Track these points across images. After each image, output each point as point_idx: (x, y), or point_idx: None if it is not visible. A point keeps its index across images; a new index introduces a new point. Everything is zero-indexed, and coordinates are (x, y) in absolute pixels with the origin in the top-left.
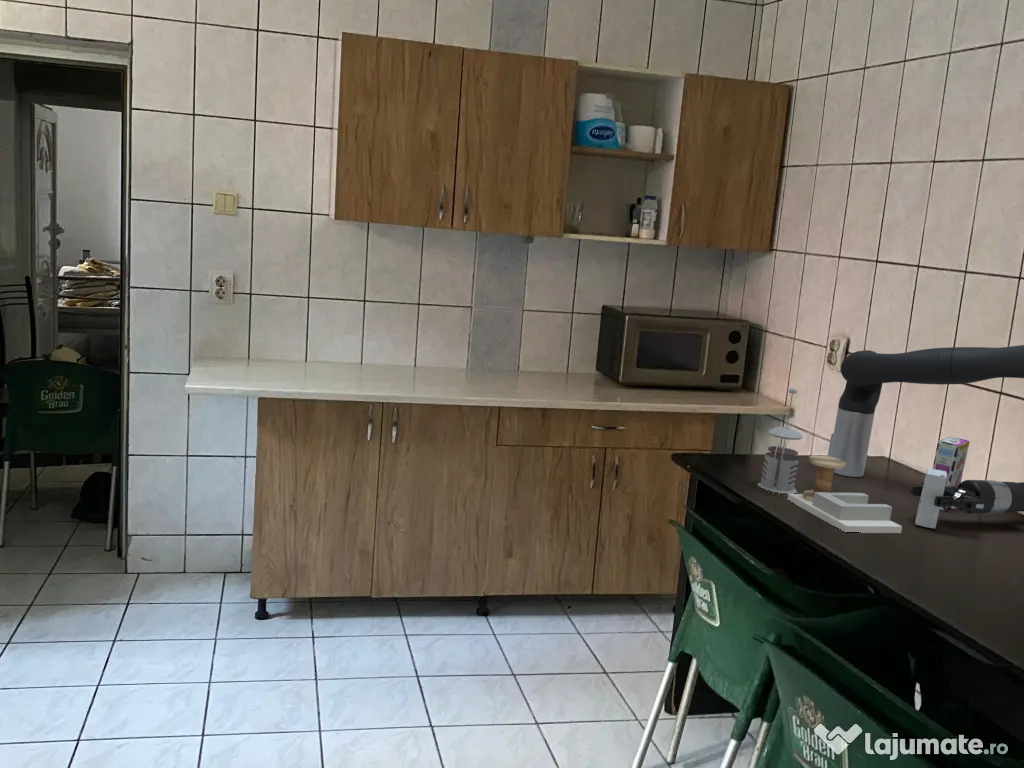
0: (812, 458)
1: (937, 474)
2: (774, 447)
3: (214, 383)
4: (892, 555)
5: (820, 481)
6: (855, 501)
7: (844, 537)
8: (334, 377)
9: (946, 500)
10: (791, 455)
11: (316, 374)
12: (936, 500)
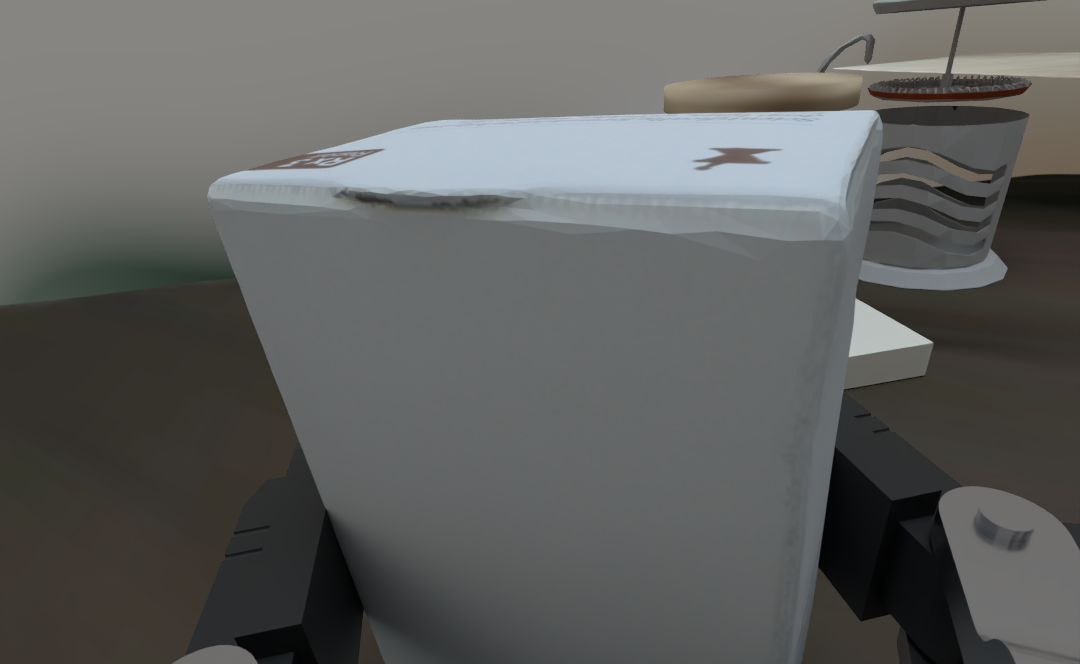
0: (736, 76)
1: (396, 139)
2: (990, 81)
3: (856, 67)
4: (143, 362)
5: None
6: None
7: None
8: (1040, 64)
9: (231, 549)
10: (887, 96)
11: (1031, 62)
12: None
